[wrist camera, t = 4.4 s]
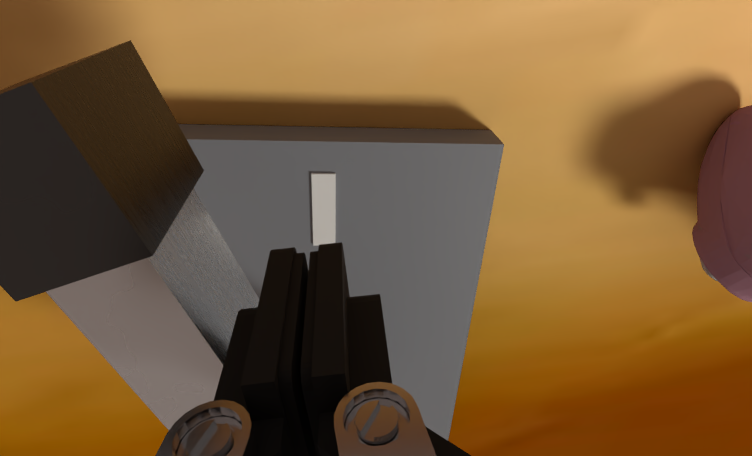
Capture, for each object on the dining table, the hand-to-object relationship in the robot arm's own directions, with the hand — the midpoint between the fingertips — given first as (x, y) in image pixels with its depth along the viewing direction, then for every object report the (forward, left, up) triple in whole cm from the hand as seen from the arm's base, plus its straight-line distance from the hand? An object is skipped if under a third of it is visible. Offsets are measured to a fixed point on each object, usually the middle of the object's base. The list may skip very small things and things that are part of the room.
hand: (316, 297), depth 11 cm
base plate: (-8, 0, -7) cm, 11 cm away
